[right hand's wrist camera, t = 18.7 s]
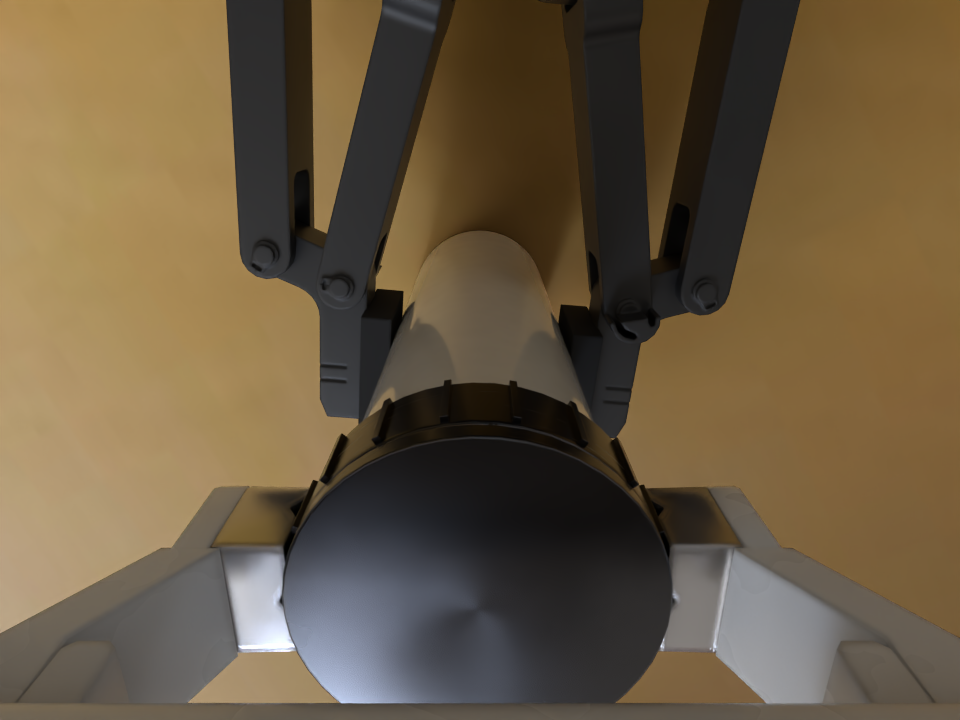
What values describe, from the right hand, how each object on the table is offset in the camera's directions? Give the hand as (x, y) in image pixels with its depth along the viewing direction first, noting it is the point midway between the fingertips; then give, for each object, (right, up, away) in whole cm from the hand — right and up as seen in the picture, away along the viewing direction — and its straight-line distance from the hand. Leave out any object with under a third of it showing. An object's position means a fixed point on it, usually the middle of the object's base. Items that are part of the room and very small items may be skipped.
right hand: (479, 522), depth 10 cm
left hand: (0, -2, +9) cm, 9 cm away
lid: (0, -1, -2) cm, 2 cm away
